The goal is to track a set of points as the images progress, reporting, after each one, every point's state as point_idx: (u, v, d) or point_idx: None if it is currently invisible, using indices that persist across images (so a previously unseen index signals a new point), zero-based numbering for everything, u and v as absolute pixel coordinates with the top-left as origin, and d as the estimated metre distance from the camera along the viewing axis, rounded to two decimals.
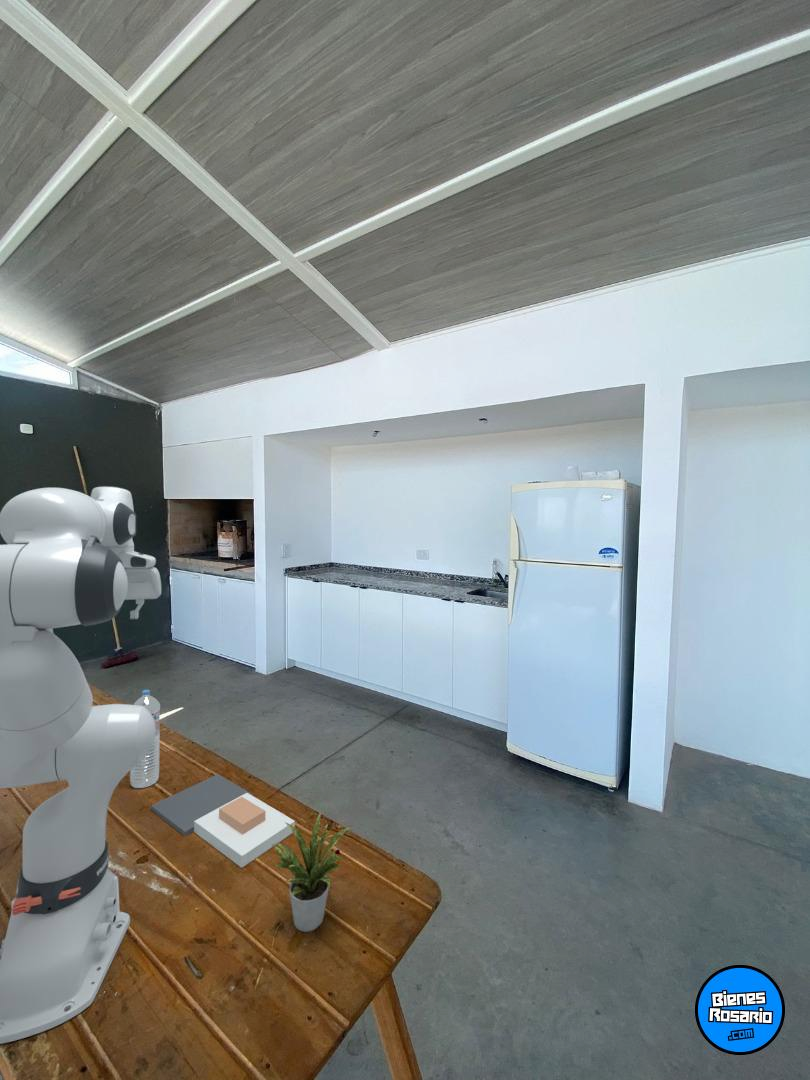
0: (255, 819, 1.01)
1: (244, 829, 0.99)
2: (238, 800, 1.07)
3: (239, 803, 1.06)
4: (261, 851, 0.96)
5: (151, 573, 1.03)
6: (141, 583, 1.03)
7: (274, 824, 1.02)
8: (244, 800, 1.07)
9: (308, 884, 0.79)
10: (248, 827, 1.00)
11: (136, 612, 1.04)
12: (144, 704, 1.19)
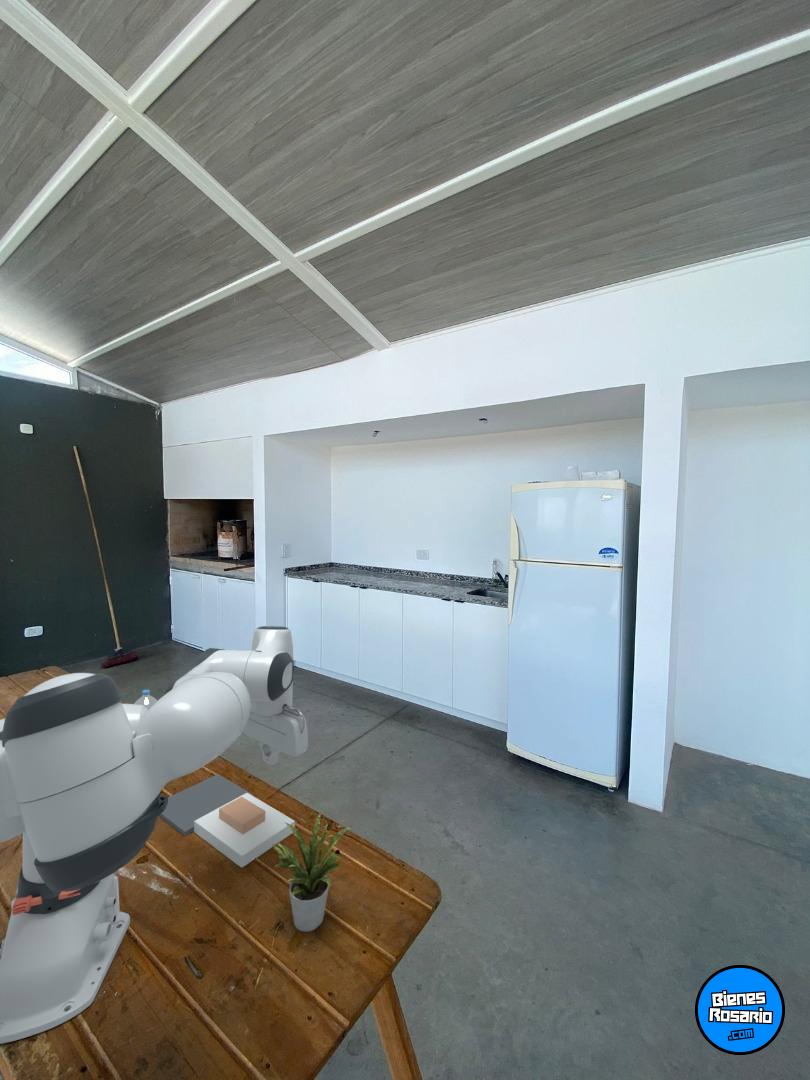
0: (255, 819, 1.01)
1: (244, 829, 0.99)
2: (238, 800, 1.07)
3: (239, 803, 1.06)
4: (261, 851, 0.96)
5: None
6: None
7: (274, 824, 1.02)
8: (244, 800, 1.07)
9: (308, 884, 0.79)
10: (248, 827, 1.00)
11: None
12: (144, 704, 1.19)
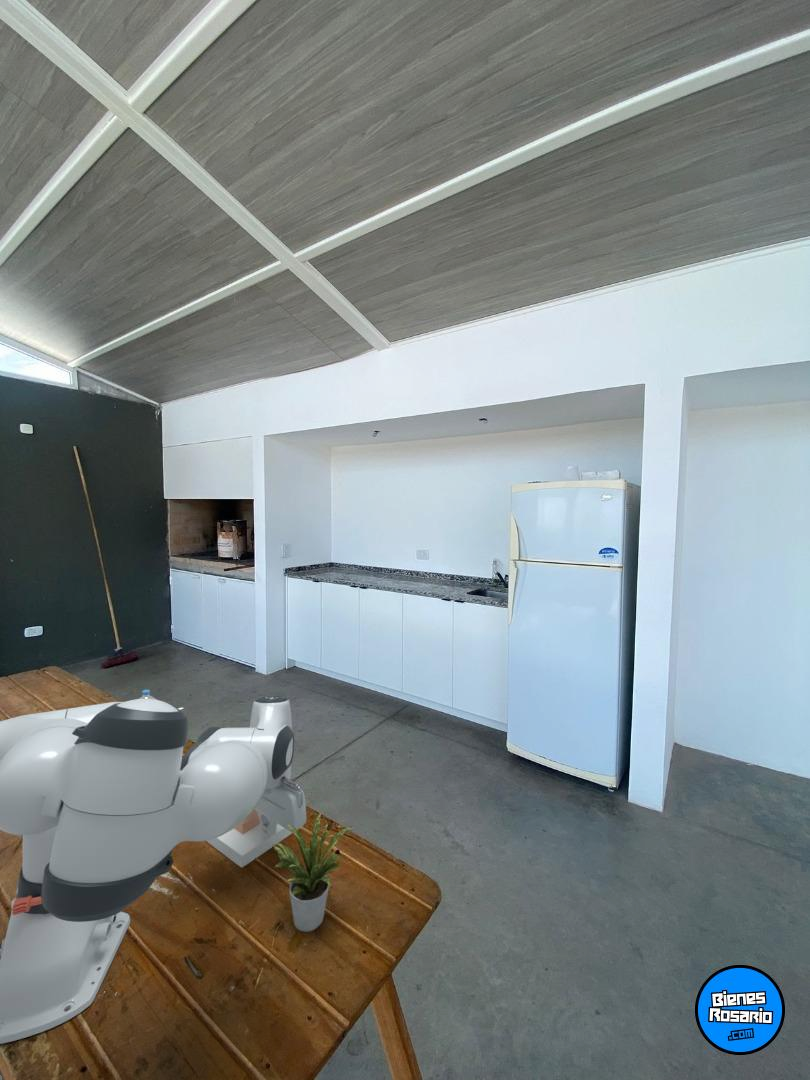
0: (255, 819, 1.01)
1: (244, 829, 0.99)
2: None
3: None
4: (261, 851, 0.96)
5: None
6: None
7: None
8: None
9: (308, 884, 0.79)
10: (248, 827, 1.00)
11: None
12: None
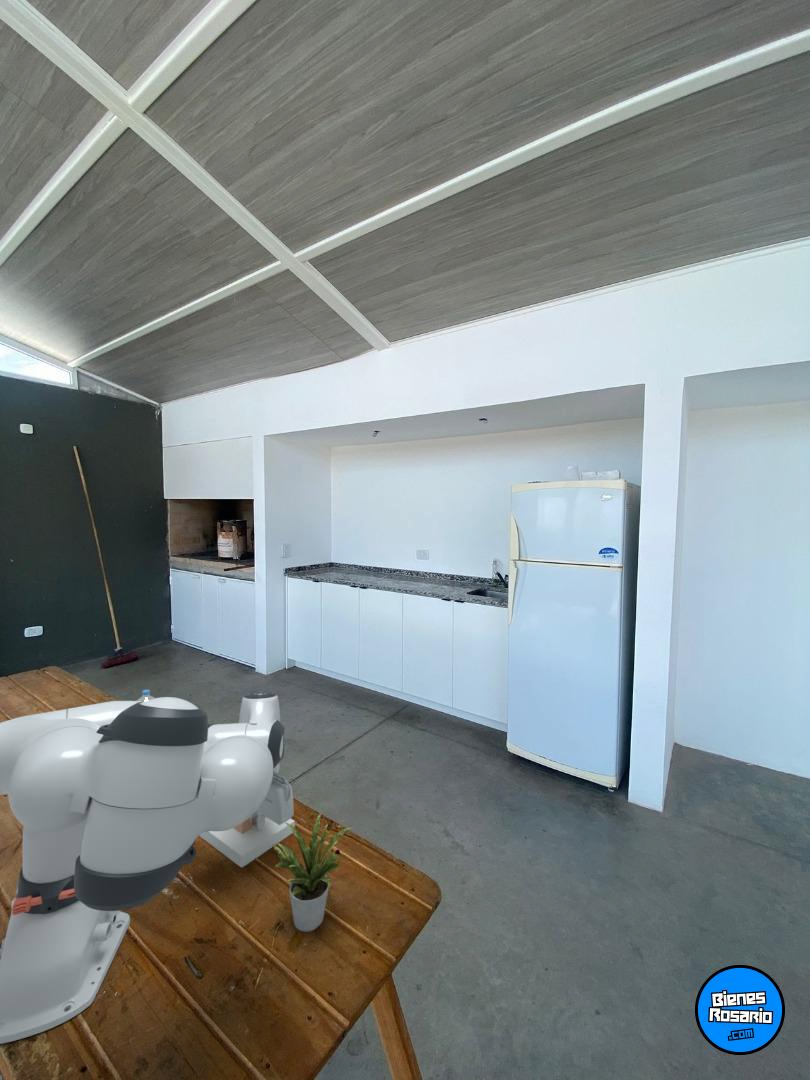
0: None
1: (243, 828, 0.99)
2: None
3: None
4: (261, 851, 0.96)
5: None
6: None
7: (274, 824, 1.02)
8: None
9: (308, 884, 0.79)
10: (247, 826, 1.00)
11: None
12: None
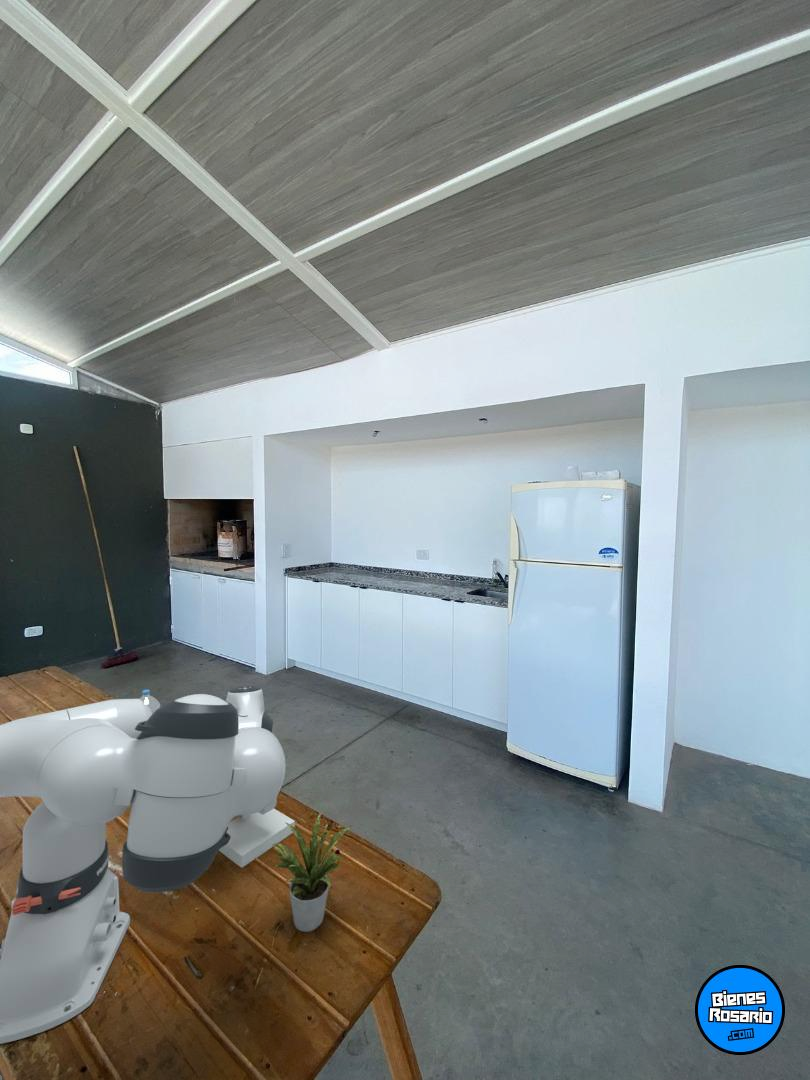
0: None
1: None
2: None
3: None
4: (261, 851, 0.96)
5: None
6: None
7: (274, 824, 1.02)
8: None
9: (308, 884, 0.79)
10: None
11: None
12: None
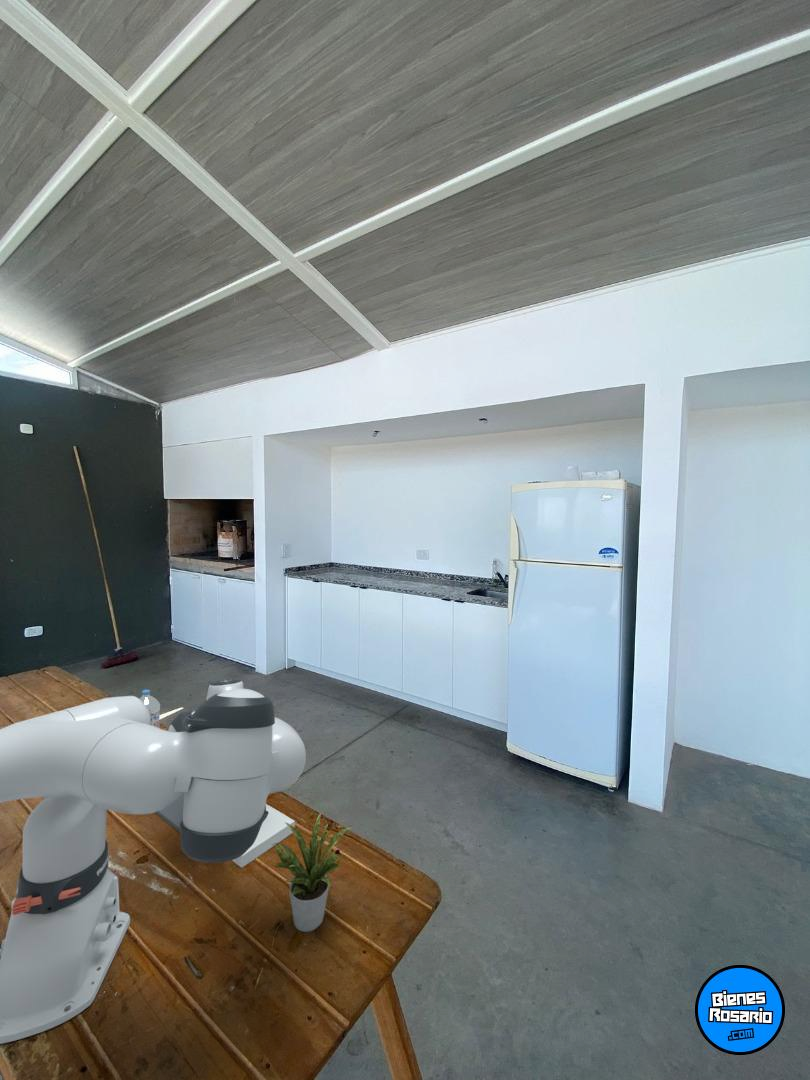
0: None
1: None
2: None
3: None
4: (261, 851, 0.96)
5: None
6: None
7: (274, 824, 1.02)
8: None
9: (308, 884, 0.79)
10: None
11: None
12: None
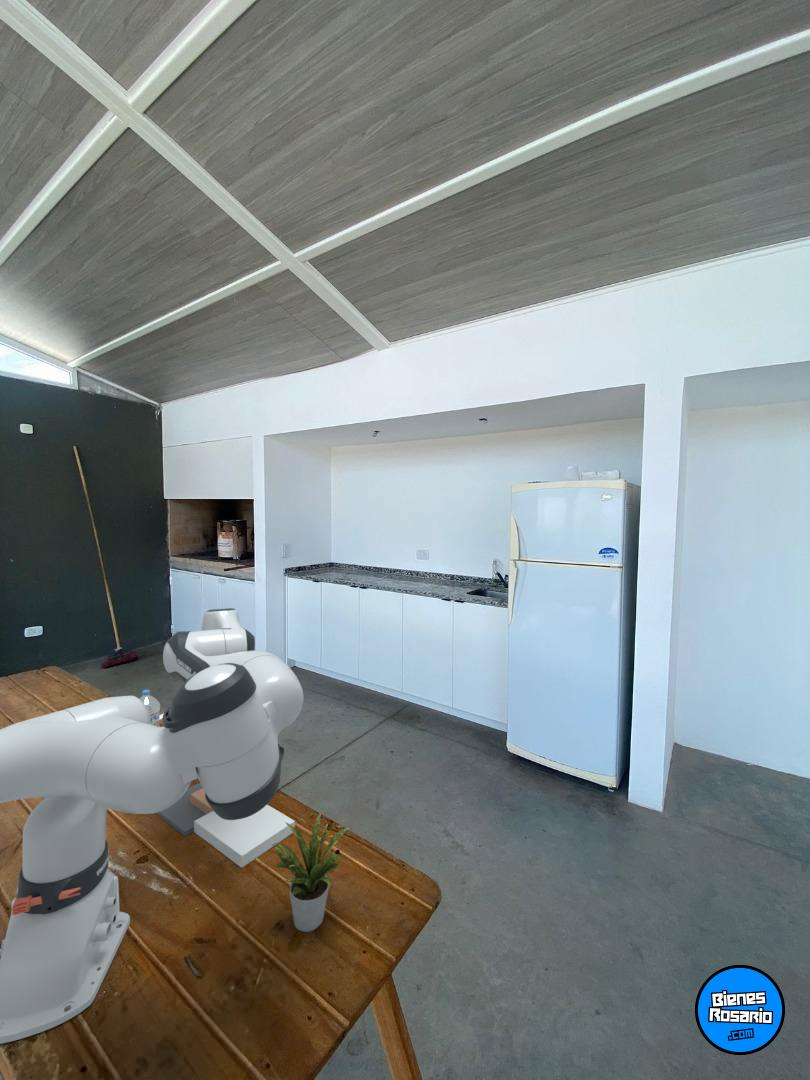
0: None
1: None
2: None
3: None
4: (261, 851, 0.96)
5: None
6: None
7: (274, 824, 1.02)
8: None
9: (308, 884, 0.79)
10: None
11: None
12: None
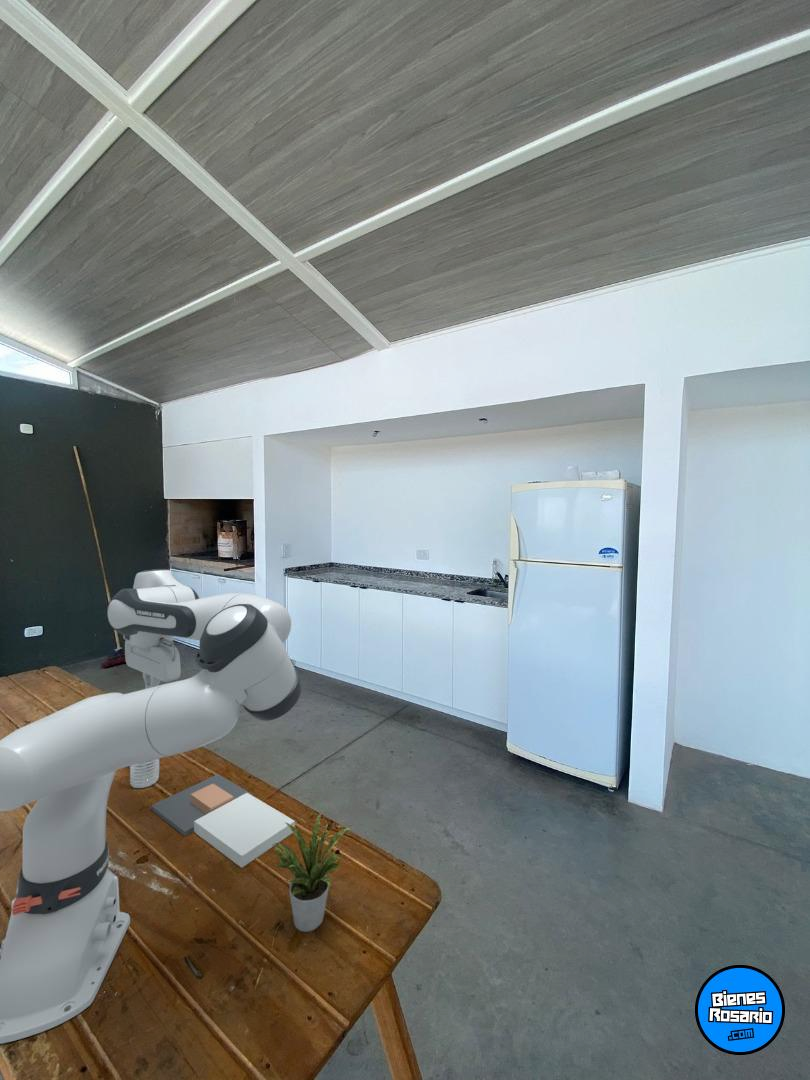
0: (223, 804, 1.09)
1: None
2: (209, 787, 1.15)
3: (209, 789, 1.14)
4: (261, 851, 0.96)
5: None
6: None
7: (274, 824, 1.02)
8: (215, 787, 1.15)
9: (308, 884, 0.79)
10: None
11: None
12: None
